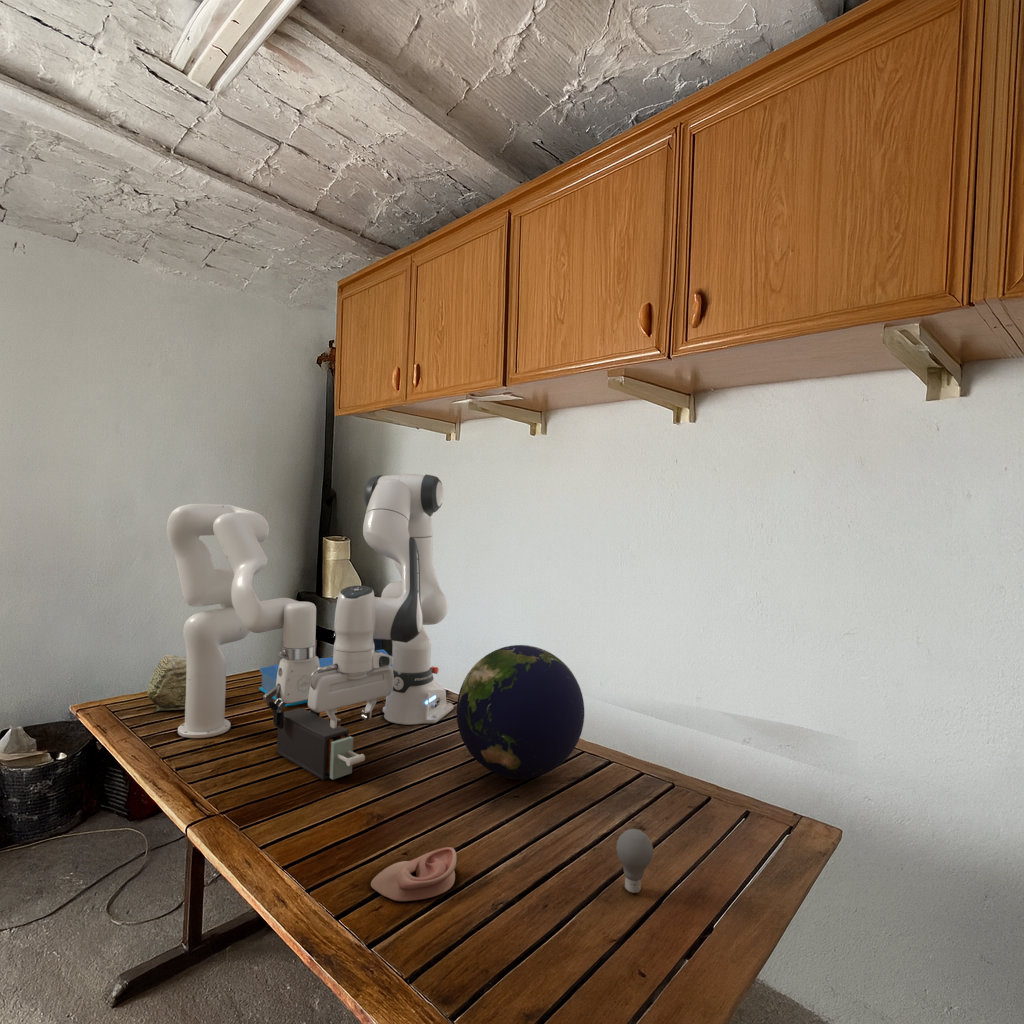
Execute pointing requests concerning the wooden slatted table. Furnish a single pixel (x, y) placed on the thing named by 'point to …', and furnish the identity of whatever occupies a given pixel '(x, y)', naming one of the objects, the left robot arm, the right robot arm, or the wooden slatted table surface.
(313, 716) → the cabinet
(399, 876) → the anatomical model
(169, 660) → the fossil
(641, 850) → the light bulb
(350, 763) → the drawer
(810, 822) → the wooden slatted table surface
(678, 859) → the wooden slatted table surface
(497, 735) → the globe
